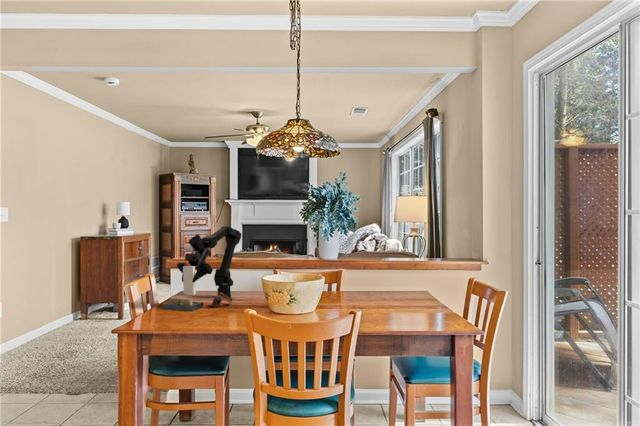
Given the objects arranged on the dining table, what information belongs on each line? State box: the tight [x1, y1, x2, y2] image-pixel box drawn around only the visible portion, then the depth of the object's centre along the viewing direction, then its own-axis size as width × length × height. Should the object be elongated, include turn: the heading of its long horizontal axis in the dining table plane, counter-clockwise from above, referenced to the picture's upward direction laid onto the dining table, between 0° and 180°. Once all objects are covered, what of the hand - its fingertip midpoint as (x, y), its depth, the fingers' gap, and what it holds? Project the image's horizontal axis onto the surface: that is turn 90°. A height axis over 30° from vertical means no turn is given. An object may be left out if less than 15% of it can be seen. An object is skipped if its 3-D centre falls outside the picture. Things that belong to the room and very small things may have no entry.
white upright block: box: [182, 266, 197, 296], centre depth 234 cm, size 2×6×14 cm, turn 68°
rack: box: [162, 301, 205, 312], centre depth 230 cm, size 10×18×3 cm, turn 68°
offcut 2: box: [180, 297, 193, 305], centre depth 227 cm, size 2×6×5 cm, turn 68°
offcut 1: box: [168, 297, 182, 304], centre depth 229 cm, size 2×6×5 cm, turn 68°
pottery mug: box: [211, 293, 234, 308], centre depth 234 cm, size 12×10×8 cm
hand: (187, 281), depth 233 cm, fingers closed on white upright block, 6 cm apart
